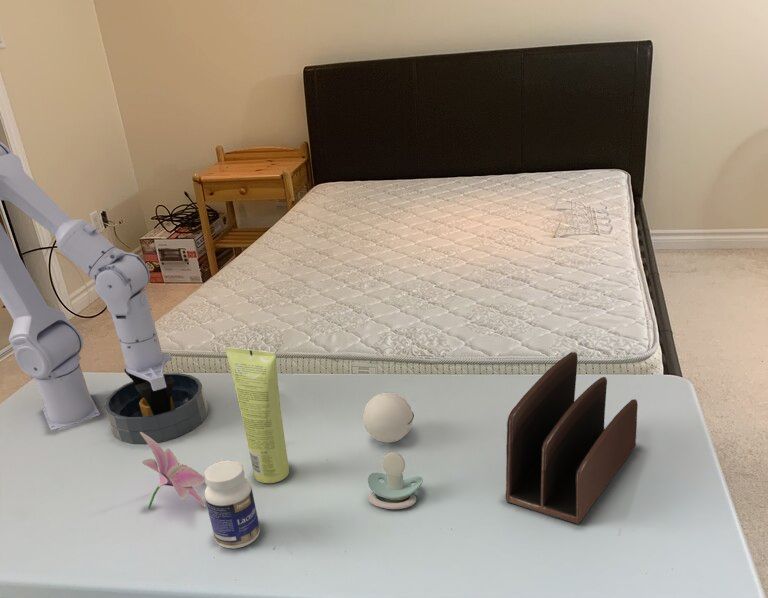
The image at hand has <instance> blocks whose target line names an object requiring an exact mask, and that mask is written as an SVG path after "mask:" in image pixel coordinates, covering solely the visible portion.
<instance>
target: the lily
mask: <svg viewBox="0 0 768 598" xmlns="http://www.w3.org/2000/svg"><path fill="white" fill-rule="evenodd" d="M140 434H141V435H142V437H143V438H144V439H145V441H146V442H147V443H148V444H147V445H148V447H149V449H151V452H152V454H153V456H154V458H155V459H154V458H146V459H144V460H142V462H141V463H142V465H144V466H145V467H148V468H149V469H151V470H153V471H155V472H156V473H158V478H159V483H158V485H157V487H156V488H155V490H154V491H153V494H152V496H151V499H150V501H149V504H148V507H147V509H148V510H151V508H152V505H153V502H154V499H155V496H156V495H157V493H158V491H159V490H160V488H161V487H162V486H167V487H172V488H173V487H174V488H173V489H174V490H175V492H176V494H177V495H178V497H179V498H180V499H181V500H185V499H186V498H187V496H188V495H190V496H191V497H192V498H194V499H195V500H196V501H197V502H198V503H200V504H201V505H202V506H203V507H204V508H207V504H205V503H206V502H205V501H204V499H203V498H202V496H201V495H200V493H199V492H198V491H197V489H196V488H195V487H197V486H200V485H202V484H206V483H205V477H204V475H202V474H201V473H200V472H198V471H197V470H195V469H194V468H192V467H191V466H188V465H187V464H180V462H179V460H178V459H177V457H176V455H175V454H174V452H173V451H172V450H171V449H169V448H166V449H165V450H164V449H163V447H162V446H161V445H160V444H159V442H158V443H156V442H155V441H154V440H153V439H151V438H150V437H149V436H147V435H146V434H144V433H142V432H140Z"/></svg>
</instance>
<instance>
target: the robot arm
mask: <svg viewBox="0 0 768 598" xmlns="http://www.w3.org/2000/svg"><path fill="white" fill-rule="evenodd" d="M0 201H8V202H10V203H11V204H12V205H14V206H15V207H16V208H18V209H19V210H20V211H22V212H23V213H24V214H26V215H27V216H28V217H29V218H31V219H32V220H33V221H35V222H36V223H37V224H39V225H40V226H41V227H42V228H44V229H45V230H47V231H48V232H49V233H50V234H52V235H53V236H54V237H55V242H56V247H57V249H58V251H59V252H61V254H62V255H64V256H65V257H66V258H68V259H69V260H70V261H71V262H72V263H73V264H75V266H77V267H78V268H79V269H80V270H82V271H83V272H84V273H85V274H86V275H87V276H88V277H89V278H91V279H92V280H93V281H94V282H95V284H94V285H93V289H94V291H95V292H96V294H97V296H98V297H99V298H100V299H101V300H102V301H103V302H104V303H105V305H106V308H107V311H108V312H109V313H110V315H111V318H112V321H113V324H114V328H115V331H116V335H117V338H118V339H117V340H118V342H119V345H120V349H121V353H122V355H123V360H124V370H123V371H124V372H125V374H126V375H127V376H128V377H129V378H130V379H131V380H132V381H133V382H134V383H135V387H136V389H137V391H138V392H139V393H140V394H141V396H142V398H145V399H146V401H147V403H148V405H149V407H150V409H151V411H152V413H153V415H158V414H161V413H165V412H168V411H171V394H172V390H173V387H174V379H173V378H172V377H169V378H165V379H164V376H163V374H164V373H165V368H166V363H167V362H170V361H172V360H173V358H172V355H171V354H170V353H169V352H164V353H163V350H162V347H161V343H160V340H159V335H158V331H157V328H156V327H157V326H156V323H155V319H154V316H153V311H152V308H151V304H150V300H149V296H148V293H147V289H146V287H147V286H149V284H150V281H151V272H150V269H149V267H148V265H147V263H146V262H145V261H144V260H143V259H142V257H141V256H140V255H138V254H136V253H133V252H128V251H124V250H123V249H120V248H117V247H116V246H115V245H114V244H113V243H111V242H110V241H109V240H108V239H107V238H106V237H105V236H104V235H103V234H101V233H100V231H98V228H97V227H96V226H95V225H94V223H92V222H88V221H87V220H85V219H77V218H76V219H75V218H74V219H73V218H71V217H70V216H69V215H68V213H67V212H65V210H63V209H62V207H60V206H59V204H57V202H55V201H54V200H53V199H52V198H51V196H49V195H48V193H46V191H45V190H43V188H41V186H39V184H38V183H37V182H35V180H33V179H32V177H30V176H29V175H28V173H27V172H25V170H24V168H23V163H22V160H21V158H20V157H19V156H18V155H16V154H15V153H13V152H12V151H11V149H10V148H9V147H8V146H7V145H6V144H4V143H3V142H2V141H0ZM0 300H1V301H2V303H3V305H4V306H5V308H6V310H7V312H8V314H9V315H10V317H11V318H12V320H13V323H12V327H11V330H10V333H9V335H8V336H9V337H8V342H9V344H10V345H11V347H12V349H13V352H14V359H15V362H16V363H17V365H18V367H19V369H21V370H22V371H23V372H24V373H25V374H26V375H28V376H30V378H31V379H34V380H35V383H36V386H37V389H38V392H39V394H40V397H41V400H42V403H43V406H44V407H42V412H43V414H44V416H45V420H46V421H47V425H48V427H49V429H50V431H55V430H59V429H62V428H65V427H68V426H71V425H74V424H78V423H81V422H85V421H87V420H91V419H94V418H97V417H100V416H101V413H100V411H99V409H98V408H97V405H96V404H95V402H94V399H93V398H92V395H91V394H90V392H89V388H88V385H87V382H86V379H85V376H84V373H83V369H82V366H81V364H80V360H82V359H81V355H80V353H81V352H82V350H83V349H84V339H83V336H82V334H81V332H80V331H79V329H78V328H77V327H76V326H75V325H74V324H73V323H72V322H70V321H69V319H68V318H67V316H66V313H65V312H64V311H62V310H59V309H56V308H54V307H50V306H48V304H47V302H46V300H45V299H44V298H43V296H42V294H41V292H40V290H39V288H38V287H37V285H36V283H35V281H34V280H33V278H32V276H31V274H30V272H29V271H28V269H27V267H26V266H25V264H24V262H23V260H22V259H21V257H20V255H19V253H18V252H17V250H16V248H15V246H14V244H13V242H12V241H11V239H10V237H9V235H8V234H7V232H6V230H5V228H4V226H3V225H2V223H1V222H0Z"/></svg>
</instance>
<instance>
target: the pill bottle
mask: <svg viewBox="0 0 768 598" xmlns="http://www.w3.org/2000/svg"><path fill="white" fill-rule="evenodd" d="M203 477H204V478H205V483H204V484H205V485H206V488H205V489H204V490H205V491H204V499H205V503H206V504H205V505H206V508H207V511H208V515H209V520H210V524H211V529H212V534H213V537H214V541H215V542H216V543H217V544H218V545H219V546H220V547H223V548H225V549H240V548H243V547H247V546H248V545H250V544H252V543H253V542H254V541H255V540H257V538H258V537H259V535H260V532H261V526H260V522H259V517H258V512H257V507H256V501H255V498H254V497H255V496H254V493H253V487H252V484H251V482H250V480H248V478H247V477H246V476H245V470H244V467H243V465H242V463H241V462H239V461H236V460H221V461H218V462H215V463H213V464H211V465H209V466H208V467H207V468H206V469H205V470H204V473H203Z"/></svg>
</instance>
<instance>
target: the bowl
mask: <svg viewBox="0 0 768 598" xmlns="http://www.w3.org/2000/svg"><path fill="white" fill-rule="evenodd" d="M163 376H164V379H165V378H169V377H172V378H173V379H174V387H173V390H172V394H171V396H172V400H173V404H174V408H175V409H173V410H171V411H168V412H165V413H161V414H158V415H153V416H146V417H143V415H142V412H141V408H140V405H139V402H140V400H141V399H142V396H141V394H140V393H139V392H138V391H137V389H136V387H135V383H134V382H133V380H132V381H130V382H128V383H126V384H125V383H124V384H123V385H122V386H120V387H118V388H117V389H115V390H114V391H113V392H112V393H110V394H109V395H108V397H107V398H106V400H105V403H104V409H105V412H106V415H107V418H108V419H107V420H108V421H109V425H110V428H111V431H112V434H113V436H114V437H115V438H116V439H117V440H120V441H121V442H123V443H128V444H132V445H148V443H147V442H146V441H145V439H144V438H143V437H142V435H141V434H140V432H142V433H144V434H146V435H147V436H149V437H150V438H151V439H153V440H154V441H155V442H156V443H158V444H159V443H164V442H166V441H170V440H173V439H176V438H179V437H181V436H184V435H185V434H187V433H190V432H192V431H193V430H195V429H196V428H197V427H199V426H200V425H201V424H202V423H203V422H204V421H205V419H206V418H207V417H208V410H209V407H208V403H207V399H206V394H205V390H204V387H203V384H202V382H201V381H200V379H199V378H197V377H195V376H193V375H191V374H186V373H181V372H164V374H163Z"/></svg>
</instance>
